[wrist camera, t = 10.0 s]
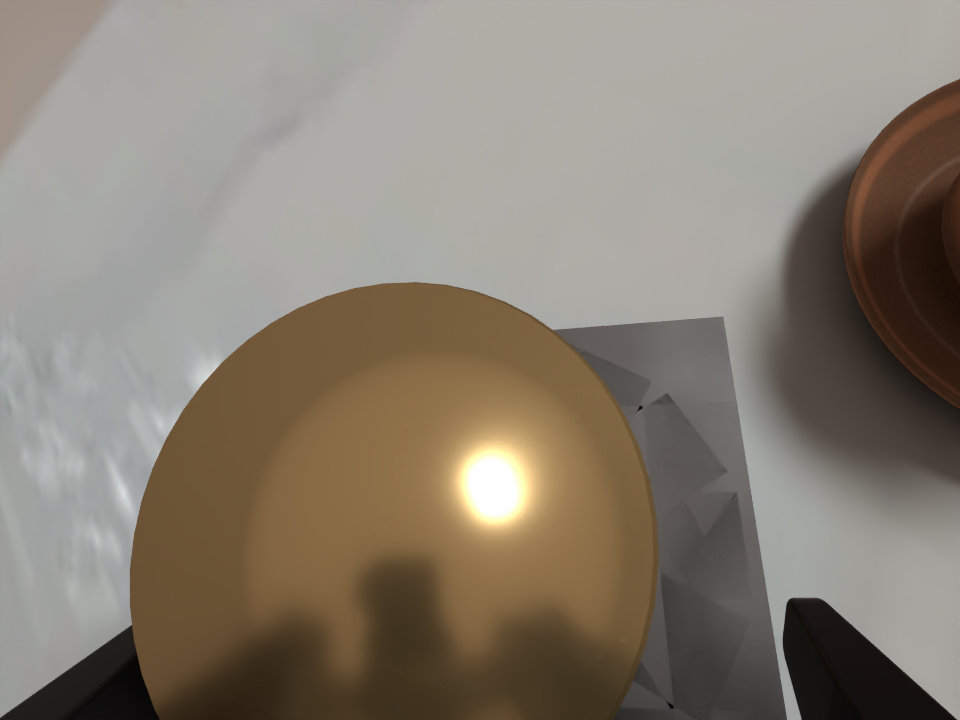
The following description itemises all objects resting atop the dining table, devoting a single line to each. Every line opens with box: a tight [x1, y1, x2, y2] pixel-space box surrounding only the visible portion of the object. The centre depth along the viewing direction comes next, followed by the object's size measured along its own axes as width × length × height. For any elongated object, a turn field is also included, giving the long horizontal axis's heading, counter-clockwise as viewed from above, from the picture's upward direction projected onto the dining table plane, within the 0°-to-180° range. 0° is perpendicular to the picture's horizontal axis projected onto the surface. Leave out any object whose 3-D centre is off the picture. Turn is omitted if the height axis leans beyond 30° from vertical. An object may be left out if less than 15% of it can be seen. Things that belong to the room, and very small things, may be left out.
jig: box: [553, 317, 787, 720], centre depth 16 cm, size 11×11×4 cm
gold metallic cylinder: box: [130, 282, 659, 720], centre depth 11 cm, size 5×5×13 cm
